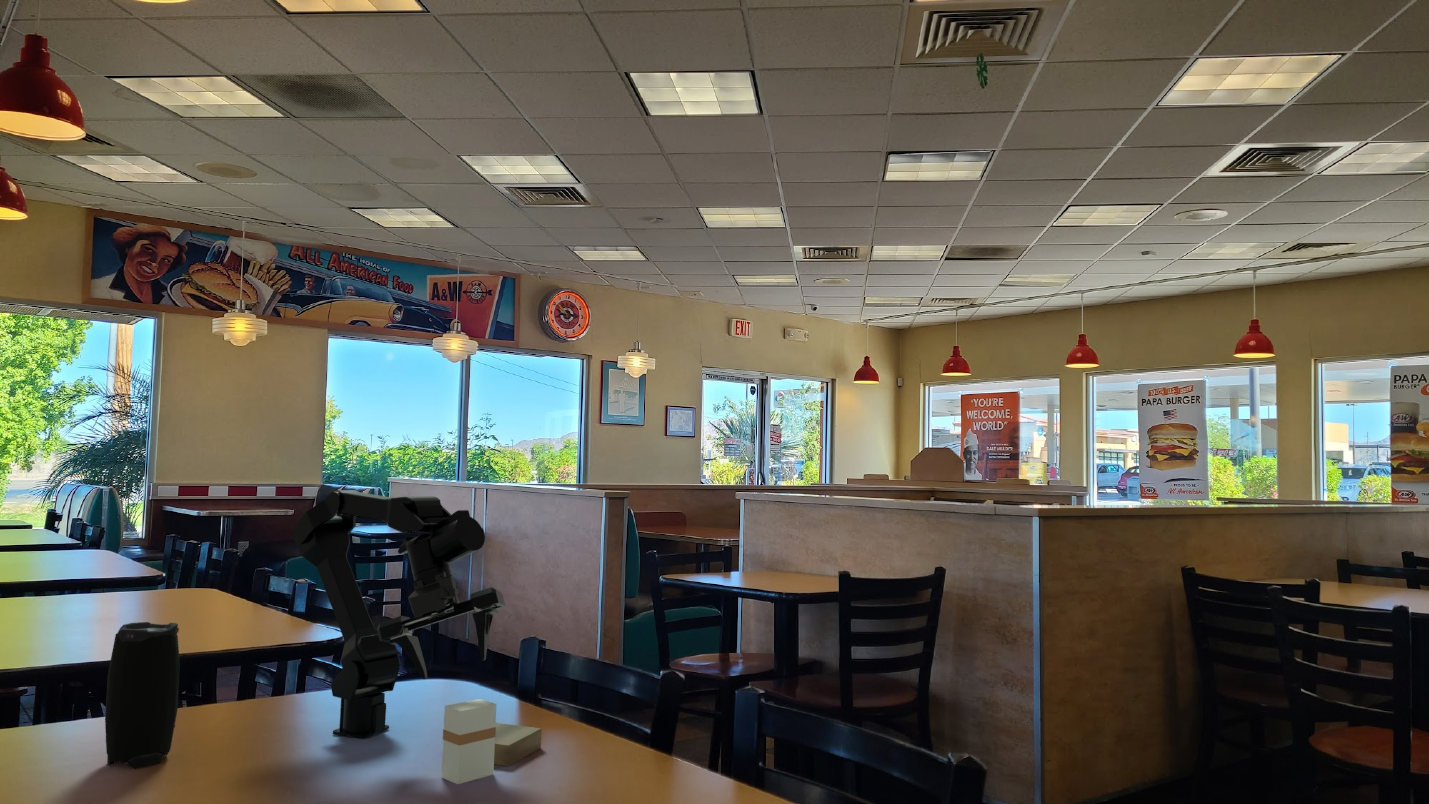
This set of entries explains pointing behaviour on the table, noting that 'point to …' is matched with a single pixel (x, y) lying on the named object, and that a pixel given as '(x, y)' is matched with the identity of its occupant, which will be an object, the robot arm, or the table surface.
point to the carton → (468, 741)
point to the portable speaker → (142, 694)
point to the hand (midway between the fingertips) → (454, 669)
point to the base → (515, 743)
